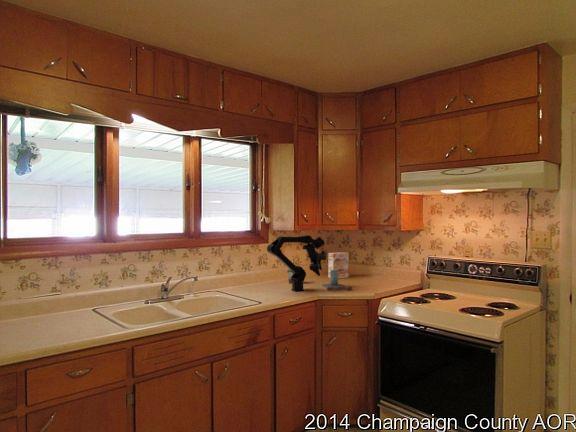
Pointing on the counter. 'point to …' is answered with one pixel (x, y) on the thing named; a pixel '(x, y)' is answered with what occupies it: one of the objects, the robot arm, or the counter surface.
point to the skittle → (334, 277)
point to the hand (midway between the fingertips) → (320, 272)
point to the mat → (333, 286)
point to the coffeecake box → (339, 264)
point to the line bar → (339, 288)
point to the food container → (290, 276)
